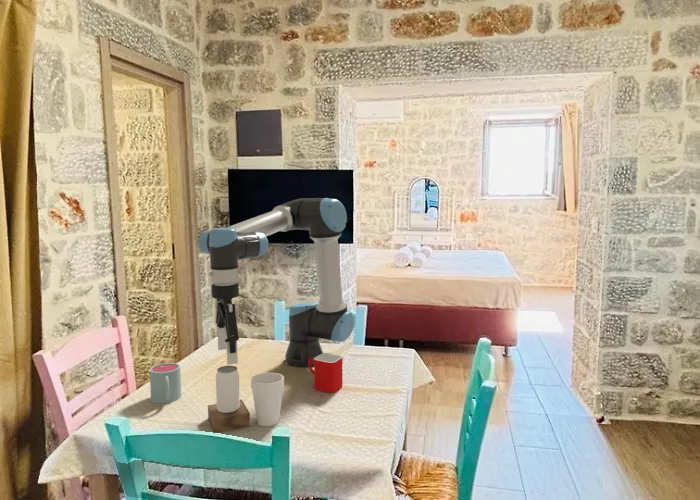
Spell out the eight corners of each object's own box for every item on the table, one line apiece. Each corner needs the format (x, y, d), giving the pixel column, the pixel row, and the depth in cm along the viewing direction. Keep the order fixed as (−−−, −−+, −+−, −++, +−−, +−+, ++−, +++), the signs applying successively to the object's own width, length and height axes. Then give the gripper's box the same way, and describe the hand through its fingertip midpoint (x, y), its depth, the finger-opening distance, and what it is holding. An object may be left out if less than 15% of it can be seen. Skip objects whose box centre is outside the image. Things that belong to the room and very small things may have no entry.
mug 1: (150, 394, 162) (149, 365, 161) (180, 390, 166) (179, 361, 165) (151, 411, 150) (150, 379, 149) (183, 406, 153) (182, 375, 152)
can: (234, 414, 138) (232, 373, 137) (212, 412, 140) (211, 372, 138) (243, 405, 145) (242, 365, 143) (223, 403, 146) (221, 364, 145)
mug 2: (344, 385, 170) (344, 355, 169) (332, 394, 162) (332, 363, 161) (315, 379, 175) (315, 350, 174) (302, 387, 168) (302, 357, 167)
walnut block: (242, 412, 149) (241, 399, 149) (249, 426, 140) (249, 412, 140) (208, 418, 145) (207, 405, 144) (214, 433, 136) (213, 419, 135)
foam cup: (254, 414, 148) (253, 372, 146) (285, 413, 148) (284, 371, 147) (250, 429, 138) (249, 385, 137) (283, 428, 139) (282, 384, 137)
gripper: (204, 277, 148) (207, 345, 150) (219, 292, 125) (222, 372, 128) (229, 275, 151) (231, 342, 153) (248, 290, 128) (251, 368, 131)
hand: (227, 356), depth 140 cm, fingers open, 13 cm apart
